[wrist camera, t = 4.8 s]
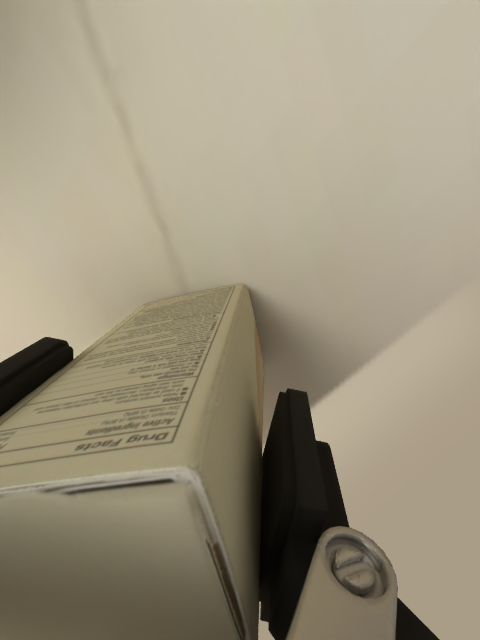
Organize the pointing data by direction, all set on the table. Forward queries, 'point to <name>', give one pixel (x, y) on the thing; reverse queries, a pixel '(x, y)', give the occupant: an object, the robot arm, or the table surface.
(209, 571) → the box
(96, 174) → the table surface
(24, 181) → the table surface
